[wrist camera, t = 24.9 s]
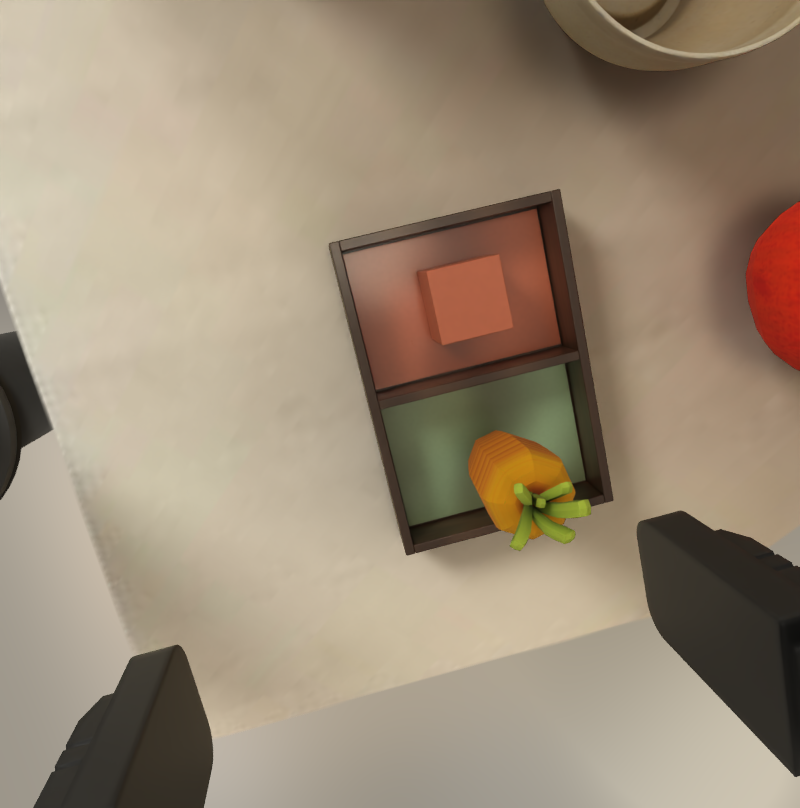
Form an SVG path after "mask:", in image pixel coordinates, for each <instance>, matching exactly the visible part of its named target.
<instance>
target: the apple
mask: <svg viewBox="0 0 800 808" xmlns="http://www.w3.org/2000/svg"><path fill="white" fill-rule="evenodd" d="M746 284H747V294H748V302H749V305H750V308H751V312H752V315H753V318H754V322H755V325H756V328H757V330H758V332H759V334H760V335H761V337H762V338H763V340H764V342H765V343H766V344H767V345H768V347H769V348H770V349H771V350H772V351H773V353H774V354H775V355H777V356H778V357H779V358H781V359H782V360H784V361H785V362H786V363H788V364H789V365H790V366H792V367H793V368H795V369H797V370H800V201H799V202H797V203H796V204H795V205H793V206H792V207H790V208H789V209H787V210H786V211H784V212H783V213H782V214H780V215H779V216H778V217H777V218H776V220H775V221H774V222H773V223H772V224H771V225H770V226H769V227H768V228H767V229H766V231H765V232H764V233H763V234H762V235H761V236H760V237H759V238H758V240H757V242H756V244H755V246H754V248H753V250H752V252H751V255H750V259H749V263H748V267H747V271H746Z"/></svg>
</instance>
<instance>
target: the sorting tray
mask: <svg viewBox="0 0 800 808" xmlns="http://www.w3.org/2000/svg"><path fill="white" fill-rule="evenodd" d="M329 250H330V254H331V258H332V262H333V266H334V270H335V274H336V278H337V282H338V286H339V290H340V294H341V298H342V302H343V306H344V310H345V314H346V318H347V322H348V326H349V330H350V334H351V338H352V342H353V346H354V350H355V354H356V358H357V362H358V366H359V370H360V374H361V378H362V382H363V386H364V390H365V394H366V398H367V402H368V406H369V410H370V414H371V418H372V422H373V426H374V431H375V435H376V439H377V443H378V447H379V451H380V455H381V459H382V463H383V467H384V471H385V475H386V479H387V483H388V487H389V491H390V495H391V499H392V503H393V507H394V511H395V515H396V519H397V523H398V527H399V531H400V535H401V538H402V542H403V545H404V549H405V552H406V555H411V554H415V553H418V552H422V551H426V550H430V549H433V548H437V547H441V546H445V545H449V544H452V543H456V542H460V541H464V540H467V539H471V538H475V537H479V536H482V535H486V534H490V533H494V532H497V531H501V530H499V529H498V528H497V527H496V526H495V524H494V522H493V521H492V519H491V517H490V516H489V514H488V512H487V510H486V508H485V506H484V504H483V502H482V500H481V498H480V496H479V494H478V492H477V490H476V488H475V486H474V484H473V482H472V480H471V478H470V476H469V469H468V460H469V457H470V454H471V451H472V449H473V446H474V443H475V440H477V439H479V438H481V437H483V436H485V435H487V434H489V433H491V432H493V431H495V430H497V431H503V432H506V433H509V434H513V435H516V436H519V437H522V438H525V439H528V440H532V441H535V442H537V443H538V444H540V445H542V446H543V447H545V448H547V449H548V450H550V451H551V452H553V453H554V454H555V455H557V456H558V457H559V458H560V459H561V460H562V462H563V465H564V467H565V469H566V471H567V473H568V476H569V478H570V480H571V482H572V484H573V487H574V489H575V492H576V493H575V496H574V498H573V500H587V499H588V500H589V503H590V505H591V506H595V505H599V504H603V503H606V502H610V501H613V494H612V488H611V482H610V477H609V471H608V465H607V459H606V453H605V448H604V442H603V436H602V430H601V424H600V419H599V413H598V407H597V401H596V395H595V390H594V384H593V378H592V372H591V366H590V361H589V355H588V349H587V343H586V337H585V332H584V326H583V320H582V314H581V308H580V303H579V297H578V291H577V285H576V279H575V274H574V268H573V262H572V256H571V250H570V245H569V239H568V233H567V227H566V221H565V216H564V210H563V204H562V198H561V192H560V189H557V190H553V191H549V192H544V193H540V194H536V195H532V196H527V197H523V198H519V199H515V200H510V201H506V202H502V203H498V204H494V205H489V206H485V207H481V208H477V209H472V210H468V211H464V212H460V213H455V214H451V215H447V216H443V217H438V218H434V219H430V220H426V221H421V222H417V223H413V224H409V225H404V226H400V227H396V228H392V229H387V230H383V231H379V232H375V233H370V234H366V235H362V236H358V237H353V238H349V239H345V240H341V241H337V242H332V243H329ZM494 254H499V255H500V259H501V264H502V269H503V275H504V280H505V285H506V290H507V295H508V300H509V306H510V311H511V316H512V321H513V326H514V328H512V329H508V330H504V331H500V332H496V333H492V334H488V335H484V336H480V337H476V338H472V339H468V340H464V341H460V342H455V343H451V344H447V345H441V344H439V343H438V342H436V341H435V340H433V339H432V337H431V333H430V328H429V324H428V319H427V315H426V310H425V306H424V301H423V297H422V292H421V288H420V283H419V279H418V274H417V271H421V270H425V269H429V268H433V267H437V266H442V265H446V264H450V263H454V262H458V261H462V260H467V259H471V258H475V257H479V256H484V255H494Z"/></svg>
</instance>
